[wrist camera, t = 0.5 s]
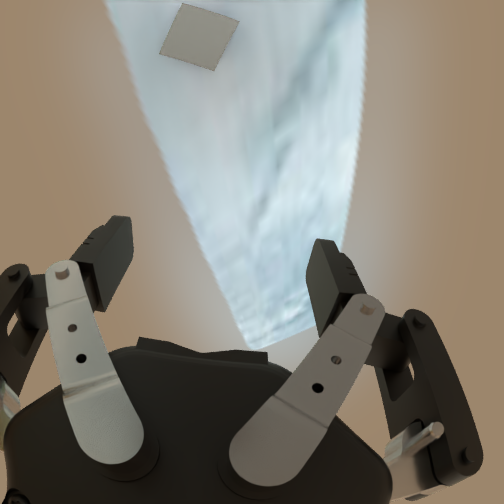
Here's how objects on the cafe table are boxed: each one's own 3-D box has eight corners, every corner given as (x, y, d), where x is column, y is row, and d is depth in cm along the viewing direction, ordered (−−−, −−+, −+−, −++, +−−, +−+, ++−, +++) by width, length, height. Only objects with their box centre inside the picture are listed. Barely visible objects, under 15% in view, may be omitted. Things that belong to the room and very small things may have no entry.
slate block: (178, 46, 25) (159, 54, 18) (195, 10, 22) (182, 3, 15) (218, 59, 27) (213, 71, 20) (236, 24, 24) (239, 21, 17)
